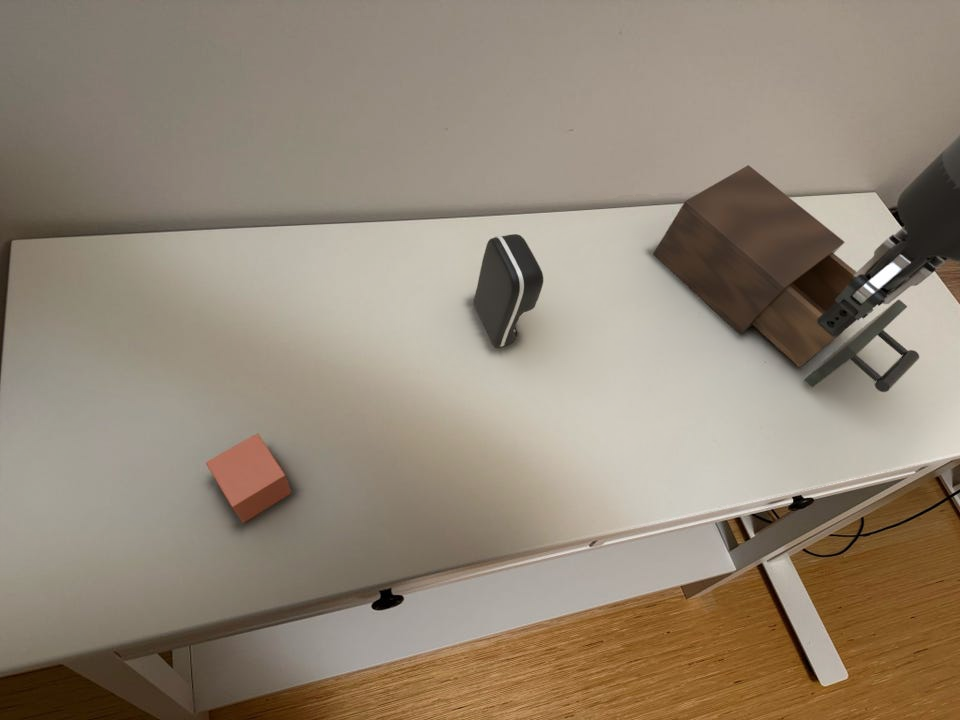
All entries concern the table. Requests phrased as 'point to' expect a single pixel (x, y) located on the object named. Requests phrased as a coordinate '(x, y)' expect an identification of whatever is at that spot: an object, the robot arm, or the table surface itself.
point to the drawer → (803, 337)
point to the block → (249, 477)
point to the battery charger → (506, 286)
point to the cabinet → (743, 245)
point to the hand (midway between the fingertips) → (829, 326)
